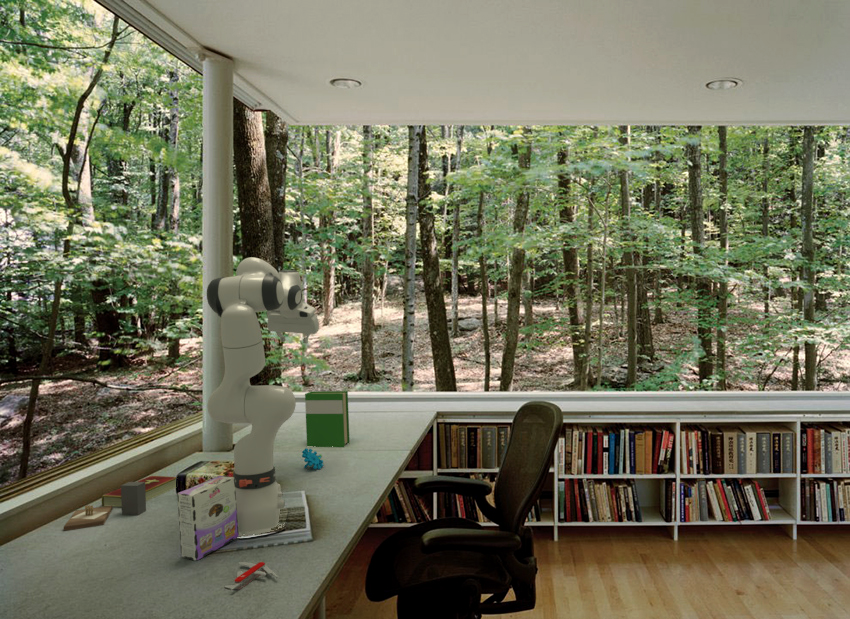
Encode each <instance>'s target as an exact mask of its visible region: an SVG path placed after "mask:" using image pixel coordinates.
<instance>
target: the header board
mask: <svg viewBox="0 0 850 619" xmlns="http://www.w3.org/2000/svg"><path fill="white" fill-rule="evenodd" d="M84 506H85V507H84V509H78V510H75V511H73V512H74V513H72V515H71V517H70V518H68V520H67V521H66V523H65V525H64V526H63V531H64V532H66V531H71V530H78V529H83V528H92V527H96V526H97V527H98V526H104V525H105V523H106V522H107V520H108V518H109V516H110V515H111V513H112V512H113V507H114V506H113V505H111V506H97V507H94V505H84Z"/></svg>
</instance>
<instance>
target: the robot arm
mask: <svg viewBox="0 0 850 619" xmlns="http://www.w3.org/2000/svg"><path fill="white" fill-rule="evenodd" d="M302 293H303V286H302V280H301V275H300V273H299V271H297V270H295V269H283V270H279V271H277V269H276V268H275V267H274V266H273V265H271V264H270V263H269V262H268V261H265V260H264V259H262V258H258V257H254V256H253V257H252V256H251V257H246V258H244V259H242V260H241V261H240V262H239V263H238V265H237V268H236V275H235V276H227V277H224V276H222V277H221V276H220V277H216V278H214V279H211V280H210V282H209V284H208V285H207V287H206V300H207V302H208V306H209V307H210V308H211V310H212V311H213V313H216V314H217V316H218V317H219V318H220V338H221V345H222V352H223V360H224V375H223V378H222V381H221V382H220V384H219V386H217V388H216V389H214V390H213V392H211V394H210V395H209V397H208V400H207V403H206V404H207V407H206V408H207V412H208V414H209V416H210V418H211V419H212V420H213V421H215V422H219V423H225V424H229V425H230V424H231V425H232V424H233V425H234V424H237V425H238V424H251V431H250V433H247V434H246V435H245V436H243V437H241V438H239V439H238V440H237V441H236V443H235V444H234V447H233V461H234V464H233V465H234V471H233V473H232V477H234V478H235V492H236V506H237V520H238V532H239V535H238V537H241V536H248V535H253V534H261V533H265V532H270V531H274V530H271V528H274V527H276V526H277V525H278V524H279V523H278V522H279V514H280V508H285V500H284V499H282V498H283V496H284V493H283V492H282V491H281V488H282V487H281V484H279V483H278V482H277V481H276V480H277V478H276V477H277V476H276V474H277V473H276V472H277V470H276V466H274V449H275V448H274V445H275V439H276V436H277V433H278V431H279V430H280V428H281V427H282V426H283V424H284V423H285V422H287V421H288V420H289V419H290V418H291V417H292V415H293V414H294V412H295V410H296V406H297V405H296V397H295V394H294V392H293V391H292V390H291V389H290V388H289V387H286V386H281V385H274V384H271V385H270V384H268V385H267V384H265V385H262V384H261V385H251V382H250V379H251V378H252V377H253V378H254V376H256V375H258V374H259V373H260V372H262V371H263V369H264V368H265V365H266V357H265V356H266V354H265V349H264V342H263V334H262V330H261V325H260V321H259V319H258V316H257V313H259V312H264V311H266V316H267V324H266V325H267V330H268V331H269V332H275V333H276V335H277V336H278V337H279V341H280V342H281V343H282V342H283V343H284V342H285V341H286V336H285V335H283V333H292V334H304V335H305V337H304V338H303V339H302V341H303V342H302V343H303V344H308V343H309V337H310V335H315V334H317V333H318V332H319V330H320V325H319V318H318V315H316V308H315V307H314V306H311V305H309V304H307V303H305V302H304V301H303V294H302ZM284 524H285V523H284ZM284 524H283V525H284ZM279 525H281V526H279ZM279 525H278V526H279V527H278V529H279V528H282V524H279ZM283 527H284V526H283ZM276 530H277V529H276ZM243 534H245V535H243Z"/></svg>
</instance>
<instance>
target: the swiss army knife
mask: <svg viewBox="0 0 850 619" xmlns="http://www.w3.org/2000/svg"><path fill="white" fill-rule="evenodd" d="M238 565H241V566H247V567H248V568H249V569H248V570H246V571H245V572H244V571H243V570H238V571H237V572H236V573H237V574H236V577H235V579H234V584H229V585H223V587H224V588H226V589H230V590H241V589H242V588H244V587H245V586H247V585H248V584H250V583H251V582H252V581H253V580H255V579H256V578H258V577H259V576H267V574H268V575H273V576H274V577H275V578H278V577H279V575H277V574H276V573H275V572H274V571H273V570H272V569H271V568H269V567H268V565H266V563H265V562H264V561H259V562H258V563H253V562H246V561H242V562H241V561H240V562H238Z"/></svg>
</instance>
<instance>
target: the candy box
mask: <svg viewBox="0 0 850 619" xmlns="http://www.w3.org/2000/svg"><path fill="white" fill-rule="evenodd" d="M177 506H178V507H177V510H178V522H179V540H180V543H179V544H180V554H181V555H180V557H182V558H184V559H188V560H192V561H199V560H200V559H202V558H204V557H205V556H207V555H210V554H211V553H212V552H215V551H217V550H218V549H220V548H221V547H224V546H225V545H227V544H228V543H230V542H232V541H234V540H236V539H235V538H237V537H238V535H239V532H238V520H237V506H236V492H235V478H234V477H233V476H225V475H218V476H215V477H213V478H211V479H208V480H206V481H204V482H201V483H198V484H197V485H195V486H192V487H189V488H186V489H185V490H181V491H180V492H177Z"/></svg>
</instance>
